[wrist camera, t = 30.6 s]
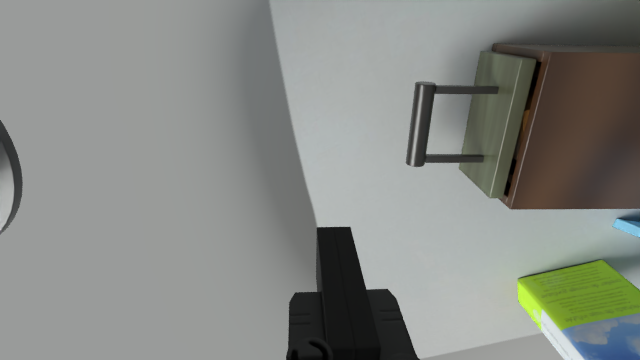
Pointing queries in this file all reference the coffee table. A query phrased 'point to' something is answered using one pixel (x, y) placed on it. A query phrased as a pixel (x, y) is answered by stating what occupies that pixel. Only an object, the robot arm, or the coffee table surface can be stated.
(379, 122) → the coffee table surface
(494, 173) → the drawer
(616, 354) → the box
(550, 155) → the cabinet
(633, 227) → the blue doll chair
